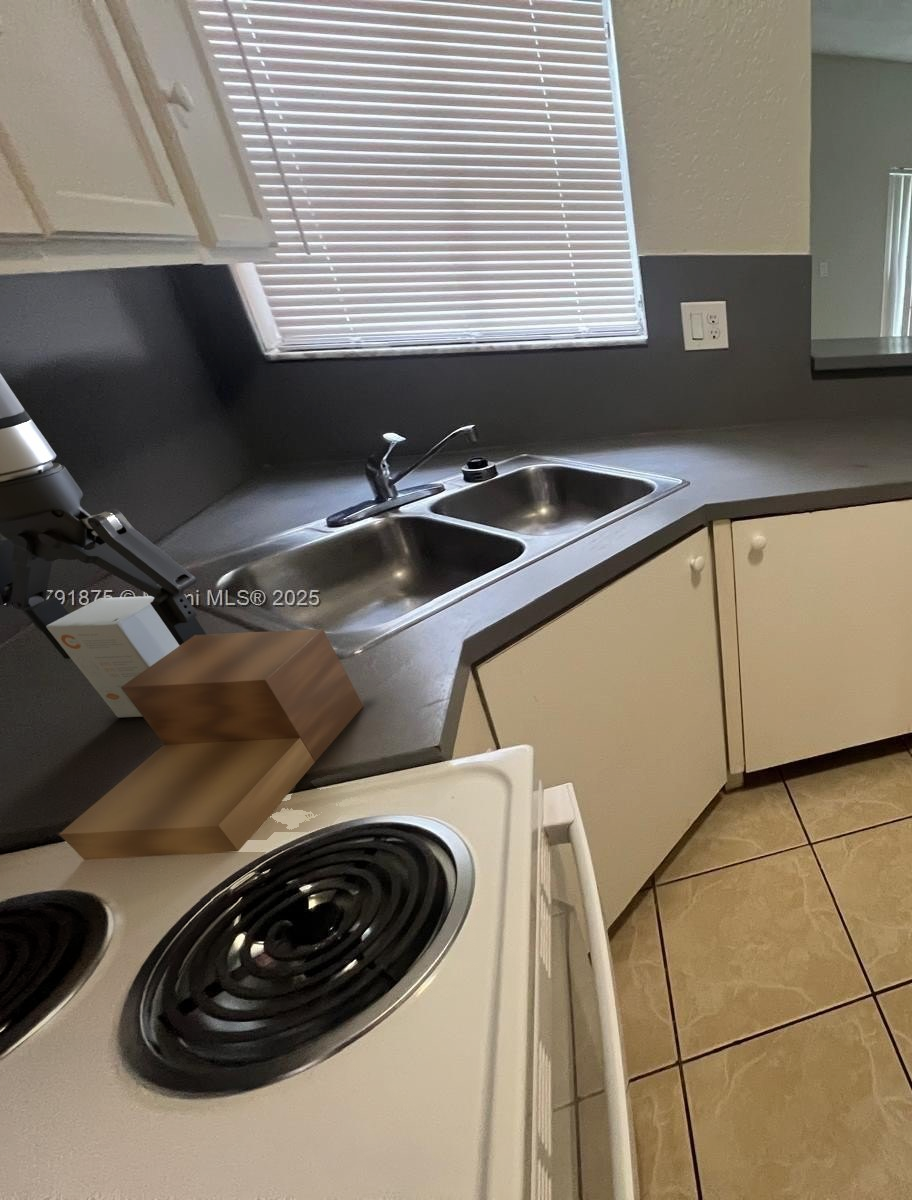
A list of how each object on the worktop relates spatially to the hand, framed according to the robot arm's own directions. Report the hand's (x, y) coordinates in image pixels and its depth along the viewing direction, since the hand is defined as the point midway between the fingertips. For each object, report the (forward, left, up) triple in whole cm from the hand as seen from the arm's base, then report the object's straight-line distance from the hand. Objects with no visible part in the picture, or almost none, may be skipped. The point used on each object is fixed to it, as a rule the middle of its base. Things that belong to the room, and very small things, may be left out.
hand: (138, 648), depth 72 cm
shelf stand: (+18, -13, -8) cm, 23 cm away
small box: (0, 0, -8) cm, 8 cm away
